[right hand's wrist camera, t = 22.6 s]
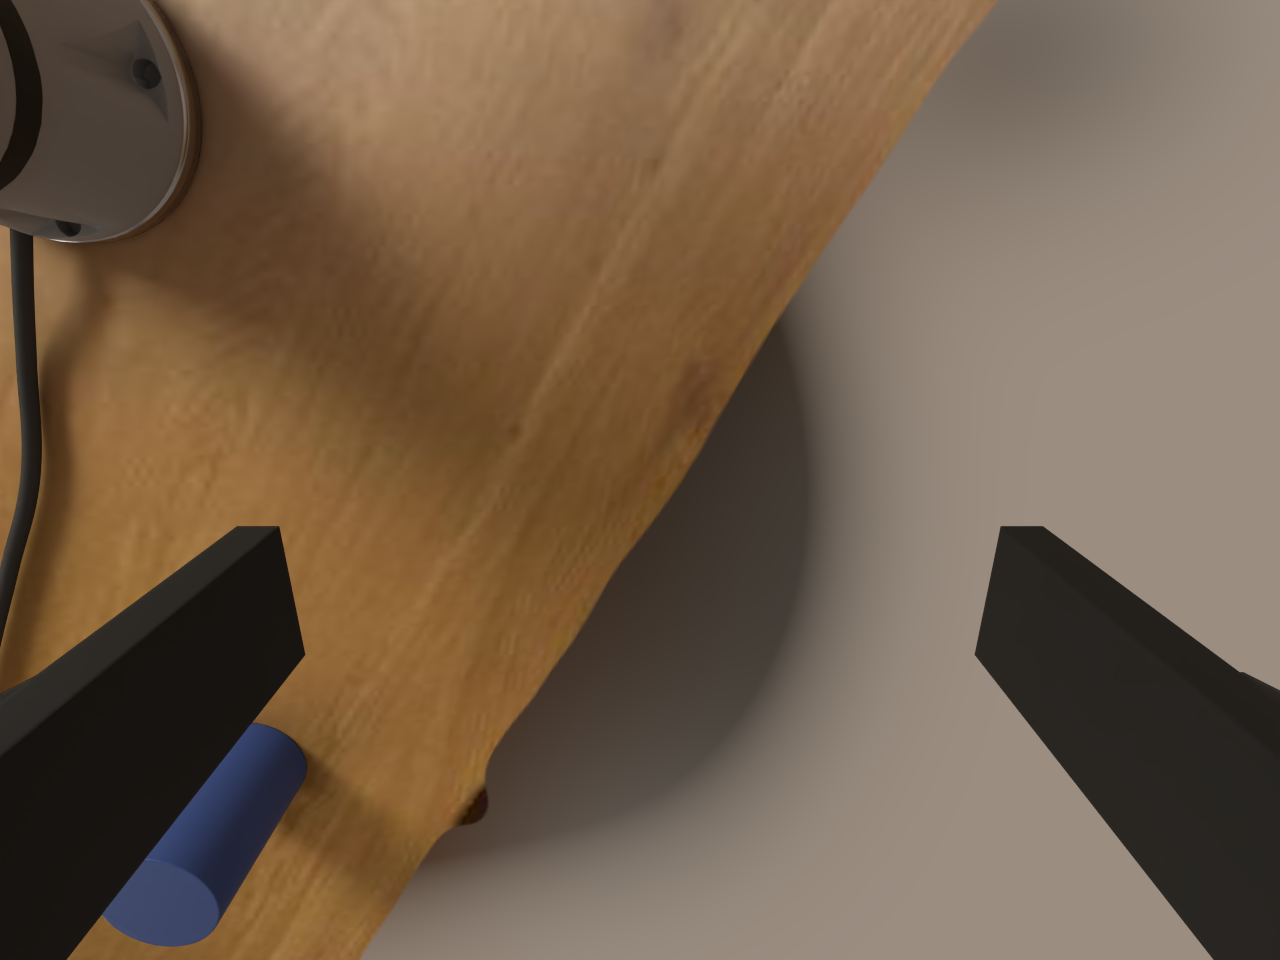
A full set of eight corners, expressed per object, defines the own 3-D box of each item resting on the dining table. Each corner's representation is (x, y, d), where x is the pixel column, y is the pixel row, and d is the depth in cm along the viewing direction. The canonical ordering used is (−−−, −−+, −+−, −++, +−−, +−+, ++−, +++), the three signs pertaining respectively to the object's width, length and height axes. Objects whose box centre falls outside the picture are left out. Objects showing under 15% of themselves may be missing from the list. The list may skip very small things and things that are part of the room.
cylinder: (294, 809, 55) (207, 959, 44) (200, 781, 54) (85, 927, 43) (316, 740, 53) (229, 880, 42) (218, 710, 52) (102, 845, 41)
